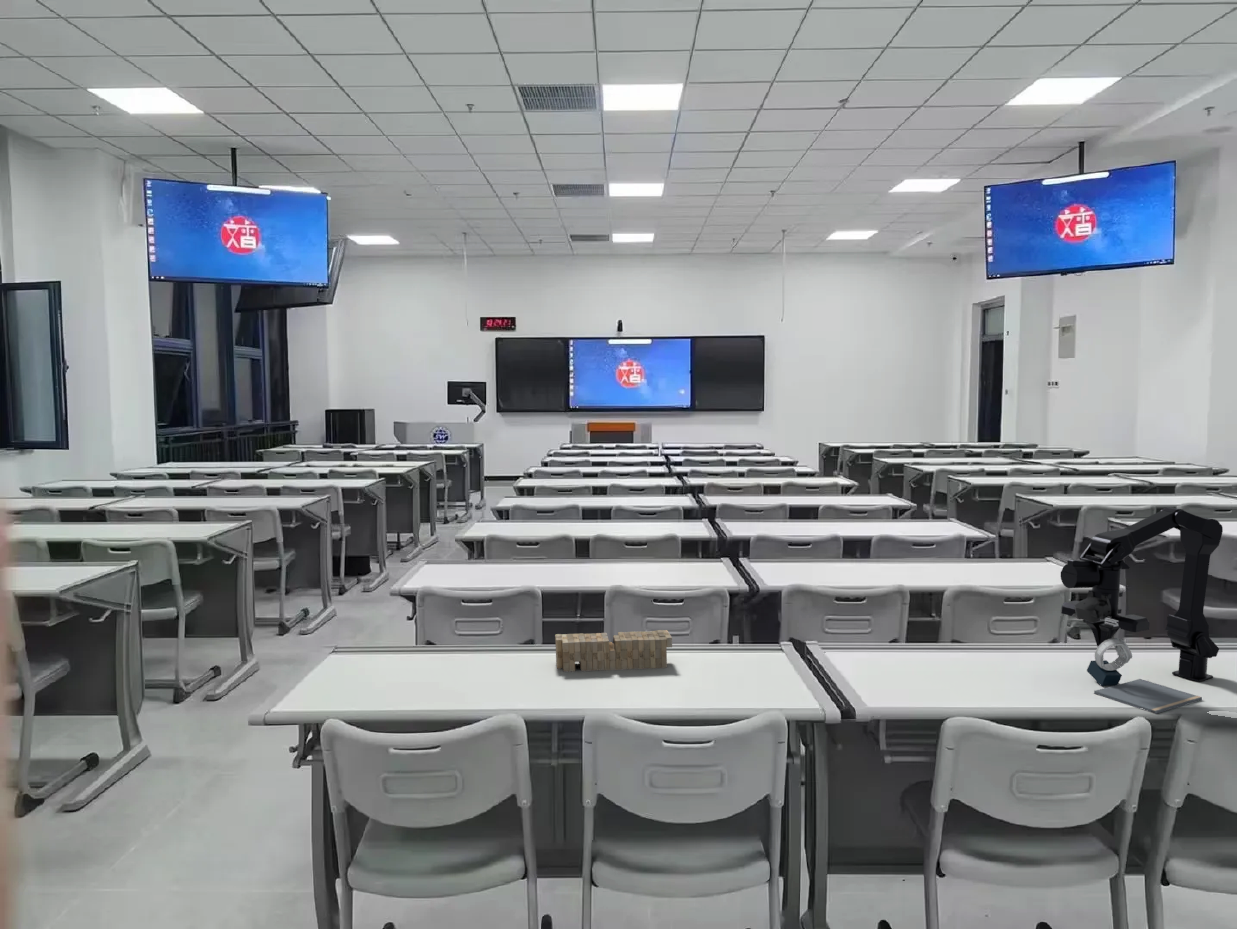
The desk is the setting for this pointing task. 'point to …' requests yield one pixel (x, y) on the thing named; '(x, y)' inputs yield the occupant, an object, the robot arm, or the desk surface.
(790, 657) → the desk surface
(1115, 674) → the watch
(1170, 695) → the mat
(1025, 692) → the desk surface
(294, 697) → the desk surface
